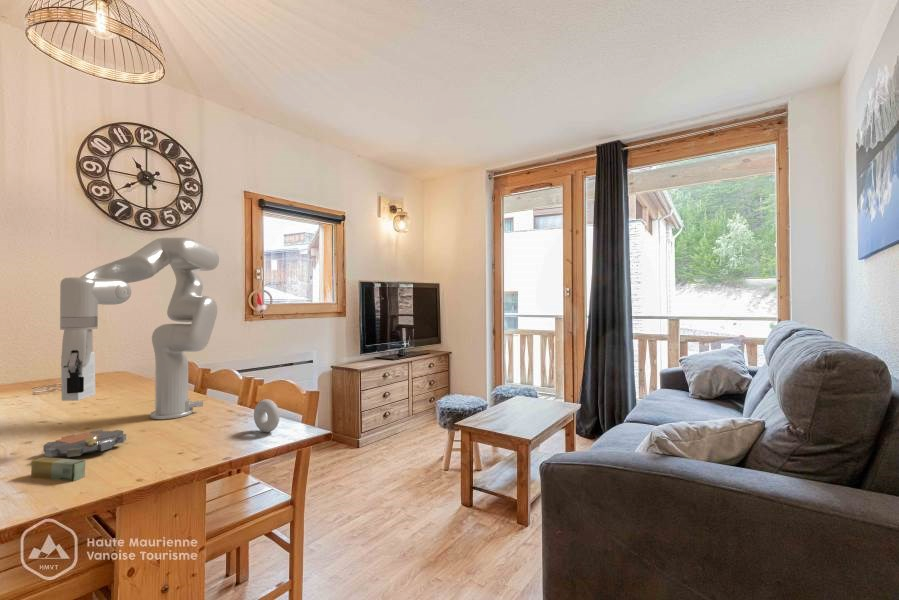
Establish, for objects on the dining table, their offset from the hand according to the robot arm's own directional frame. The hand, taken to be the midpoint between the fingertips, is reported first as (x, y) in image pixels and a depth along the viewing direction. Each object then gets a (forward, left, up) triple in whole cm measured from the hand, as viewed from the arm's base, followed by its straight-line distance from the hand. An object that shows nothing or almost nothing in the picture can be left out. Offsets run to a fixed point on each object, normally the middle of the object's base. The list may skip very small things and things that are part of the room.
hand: (78, 389), depth 110 cm
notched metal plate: (-2, +2, -15) cm, 15 cm away
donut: (-45, +10, -16) cm, 49 cm away
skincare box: (0, 0, -3) cm, 3 cm away
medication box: (0, +20, -16) cm, 26 cm away
